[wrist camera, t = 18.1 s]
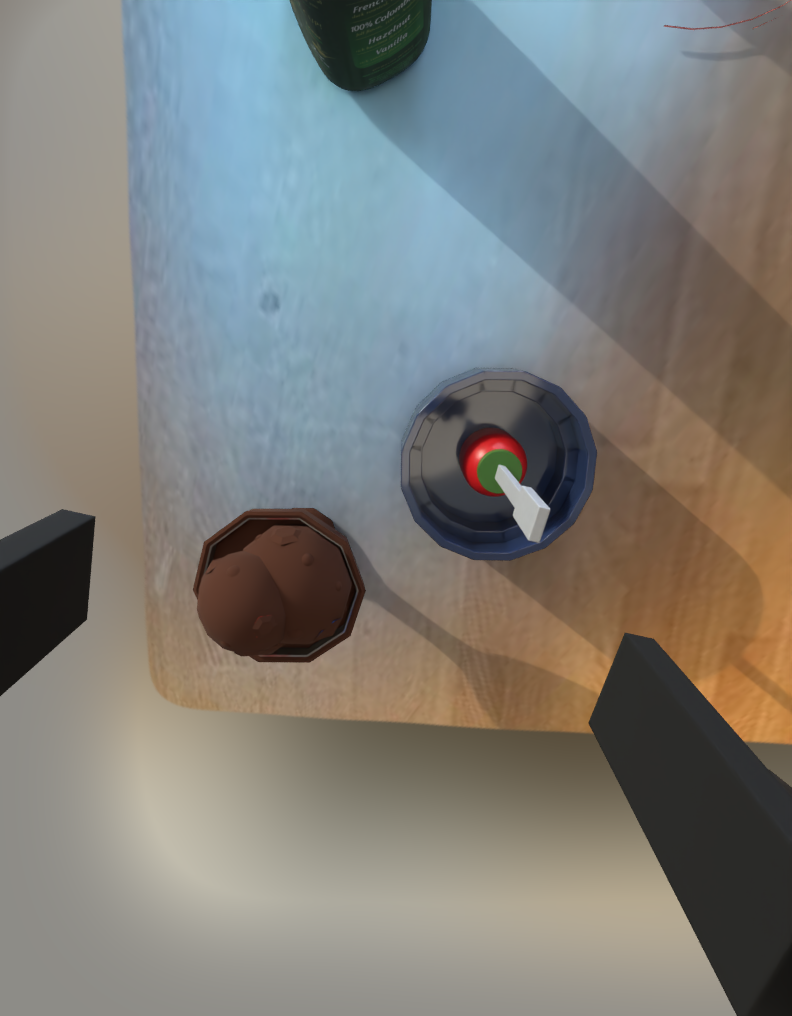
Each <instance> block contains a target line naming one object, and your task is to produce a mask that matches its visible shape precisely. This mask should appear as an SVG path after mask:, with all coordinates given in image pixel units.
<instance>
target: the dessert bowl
mask: <svg viewBox="0 0 792 1016" xmlns="http://www.w3.org/2000/svg"><path fill="white" fill-rule="evenodd" d="M484 428H498V429H501V430H503V431H506V432H507V433H509V434H510V435H511V436H512V437H513V438H514V439H516V440H517V441H518V442H519V443H520V444H521V446H522V447H523V449H524V451H525V454H526V457H527V471H526V474H525V477H524V479H523V481H522V482H521V484H520V485H521V486H527V487H531V488H532V489H533V490H534V491H535V492H536V493H537V494H538V496H539V497H540V498H541V499H542V500H543V501H544V502H545V503H546V505H547V506H548V507H549V508H550V513H549V516H548V519H547V522H546V525H545V528H544V531H543V534H542V537H541V540H540V542H539V543H537V542H532V541H529V540H528V539H527V538H526V536H525V535H524V533H523V531H522V530H521V528H520V527H519V525H518V523H517V522H516V520H515V519H514V517H513V512H514V509H515V508H514V506H513V505H512V503H511V502H510V500H509V499H508V497H507V496H506V495H503V496H497V497H491V496H486V495H483V494H480V493H478V492H477V491H475V490H474V489H473V488H472V487H471V486H470V485H469V484H468V483H467V481H466V479H465V477H464V475H463V473H462V471H461V468H460V464H459V454H460V450H461V447H462V445H463V443H464V442H465V440H466V439H467V438H468V437H469V436H470V435H471V434H473V433H474V432H476V431H478V430H480V429H484ZM596 458H597V450H596V447H595V444H594V440H593V437H592V434H591V430H590V427H589V424H588V420H587V417H586V416H585V414H584V413H583V412H582V411H581V410H580V409H579V408H578V406H577V405H576V404H575V403H574V402H573V401H572V400H571V398H570V397H569V396H568V395H567V394H566V393H565V392H564V390H563V389H562V388H560V387H559V386H557V385H555V384H552V383H550V382H548V381H546V380H544V379H541V378H539V377H537V376H535V375H532V374H530V373H528V372H526V371H522V370H517V369H513V368H474V369H472V370H469V371H467V372H464V373H462V374H459V375H457V376H454V377H452V378H449V379H447V380H445V381H442V382H441V383H440V384H439V385H438V386H437V387H436V388H435V389H434V390H433V391H432V392H431V393H430V394H429V395H428V396H427V397H426V398H424V399H423V400H422V401H421V402H420V403H419V404H418V405H417V406H416V408H415V410H414V412H413V415H412V417H411V419H410V421H409V424H408V426H407V428H406V431H405V433H404V435H403V438H402V448H401V489H402V492H403V494H404V496H405V499H406V501H407V504H408V506H409V508H410V511H411V513H412V516H413V518H414V521H415V522H416V523H417V524H418V525H419V526H420V527H421V528H422V529H423V530H424V531H425V532H426V533H427V534H428V535H429V536H430V537H431V538H432V539H433V540H434V541H435V542H436V543H437V544H438V545H439V546H441V547H443V548H446V549H448V550H451V551H453V552H455V553H458V554H460V555H463V556H465V557H468V558H470V559H473V560H513V559H516V558H519V557H522V556H524V555H527V554H530V553H533V552H535V551H538V550H541V549H544V548H546V547H547V546H548V545H549V544H551V543H552V542H553V541H554V540H555V539H557V538H558V537H559V536H560V535H561V534H563V533H564V532H565V531H566V530H567V529H568V528H570V527H571V526H572V525H573V524H574V523H575V521H576V519H577V518H578V516H579V514H580V512H581V510H582V509H583V507H584V505H585V503H586V501H587V500H588V498H589V496H590V494H591V492H592V490H593V483H594V474H595V466H596Z"/></svg>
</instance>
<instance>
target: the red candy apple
mask: <svg viewBox="0 0 792 1016" xmlns="http://www.w3.org/2000/svg"><path fill="white" fill-rule="evenodd" d="M459 464H460V468H461V471H462V473H463V475H464V477H465V479H466V481H467V483H468V484H469V485H470V486H471V487H472V488H473V489H474V490H475V491H477V492H478V493H480V494H483V495H486V496H491V497H497V496H503V495H506V496H507V497H508V499H509V500H510V502H511V503H512V505H513V506H514V508H515V509H514V512H513V517H514V519H515V520H516V522H517V523H518V525H519V527H520V528H521V530H522V531H523V533H524V535H525V536H526V538H527V539H528V540H529V541H532V542H537V543H539V542H540V540H541V537H542V534H543V531H544V528H545V525H546V522H547V519H548V516H549V513H550V508H549V507H548V506H547V505H546V503H545V502H544V501H543V500H542V499H541V498H540V497H539V496H538V494H537V493H536V492H535V491H534V490H533V489H532V488H531V487H527V486H521V485H520V484H521V482H522V481H523V479H524V477H525V474H526V471H527V457H526V454H525V451H524V449H523V447H522V446H521V444H520V443H519V442H518V441H517V440H516V439H514V438H513V437H512V436H511V435H510V434H509V433H507V432H506V431H503V430H501V429H498V428H484V429H480V430H478V431H476V432H474V433H473V434H471V435H470V436H469V437H468V438H467V439H466V440H465V442H464V443H463V445H462V447H461V450H460V454H459Z"/></svg>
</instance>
